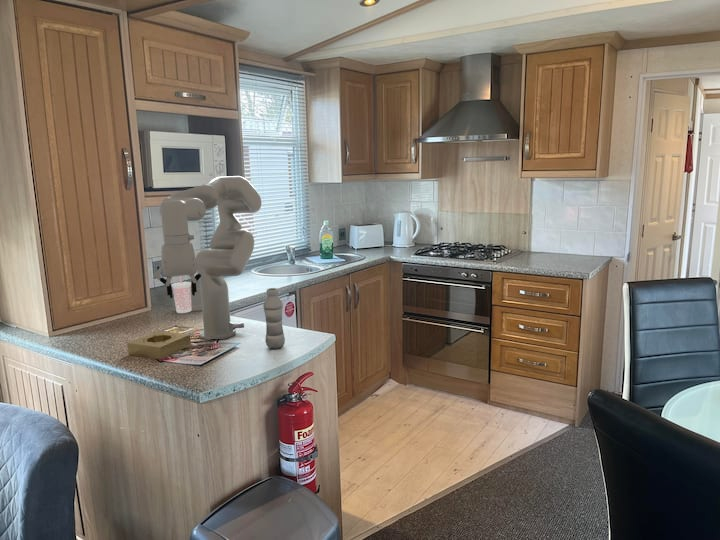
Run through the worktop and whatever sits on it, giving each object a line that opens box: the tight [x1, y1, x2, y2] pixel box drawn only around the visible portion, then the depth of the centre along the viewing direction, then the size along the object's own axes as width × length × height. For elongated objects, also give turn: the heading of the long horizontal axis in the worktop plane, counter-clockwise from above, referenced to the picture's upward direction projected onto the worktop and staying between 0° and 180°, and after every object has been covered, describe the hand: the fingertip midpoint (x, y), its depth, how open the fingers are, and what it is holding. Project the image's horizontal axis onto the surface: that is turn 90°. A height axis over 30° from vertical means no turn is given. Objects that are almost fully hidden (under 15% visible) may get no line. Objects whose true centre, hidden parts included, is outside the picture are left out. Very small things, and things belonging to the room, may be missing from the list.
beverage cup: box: [170, 276, 192, 314], centre depth 168 cm, size 6×6×14 cm
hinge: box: [190, 287, 202, 312], centre depth 231 cm, size 17×5×10 cm, turn 104°
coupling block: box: [126, 330, 192, 360], centre depth 178 cm, size 14×14×4 cm
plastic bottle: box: [263, 287, 286, 349], centre depth 176 cm, size 6×7×20 cm
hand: (182, 295), depth 169 cm, fingers closed on beverage cup, 6 cm apart
